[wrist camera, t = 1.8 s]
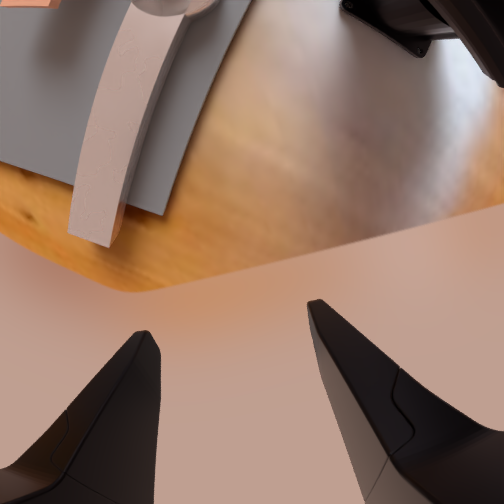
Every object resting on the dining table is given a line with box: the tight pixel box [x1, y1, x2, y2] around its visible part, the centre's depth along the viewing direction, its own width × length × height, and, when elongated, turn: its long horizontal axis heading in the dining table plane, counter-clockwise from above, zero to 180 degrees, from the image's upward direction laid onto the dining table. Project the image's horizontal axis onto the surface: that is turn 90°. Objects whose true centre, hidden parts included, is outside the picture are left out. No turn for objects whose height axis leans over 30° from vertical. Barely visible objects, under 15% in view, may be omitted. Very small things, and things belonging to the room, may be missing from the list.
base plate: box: [0, 0, 252, 216], centre depth 13 cm, size 21×20×1 cm
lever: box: [68, 0, 220, 248], centre depth 14 cm, size 18×5×3 cm, turn 157°
